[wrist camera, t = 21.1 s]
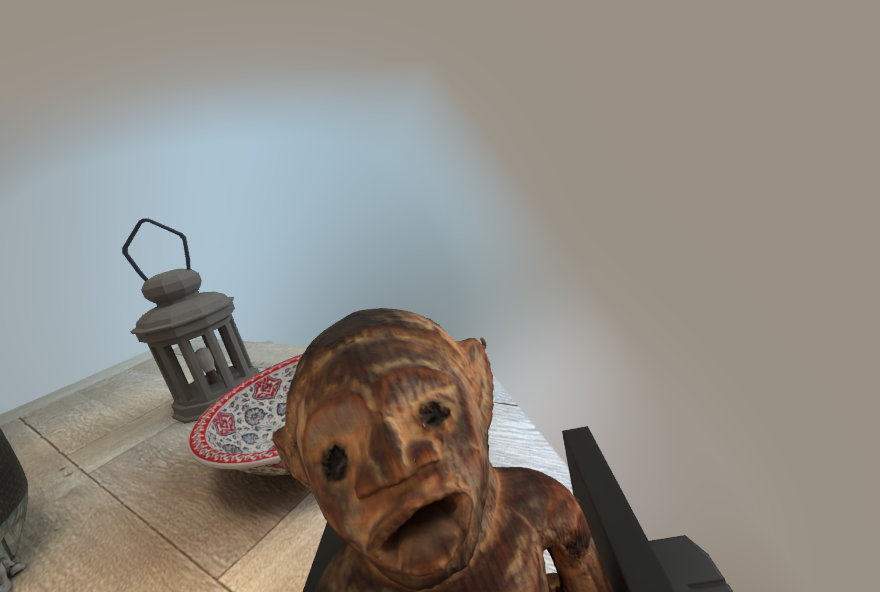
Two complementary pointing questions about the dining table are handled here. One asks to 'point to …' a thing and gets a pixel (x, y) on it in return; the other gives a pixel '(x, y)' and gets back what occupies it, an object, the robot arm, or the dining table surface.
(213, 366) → the lantern
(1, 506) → the basket
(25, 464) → the dining table surface
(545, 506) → the figurine
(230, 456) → the ceramic bowl
